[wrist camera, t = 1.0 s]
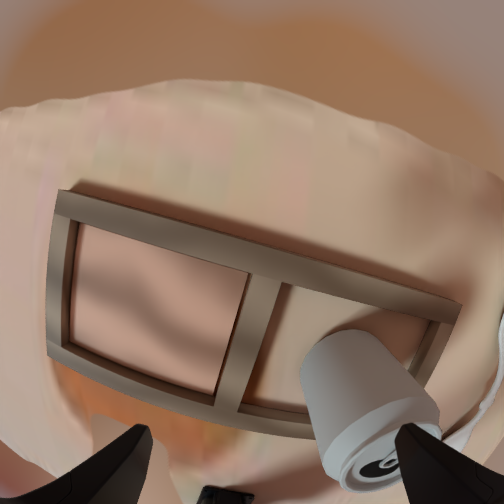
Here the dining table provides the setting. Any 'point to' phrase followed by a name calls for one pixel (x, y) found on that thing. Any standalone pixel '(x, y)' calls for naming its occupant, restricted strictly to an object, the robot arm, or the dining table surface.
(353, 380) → the can
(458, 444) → the spoon
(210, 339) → the ladder rack
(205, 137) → the dining table surface
